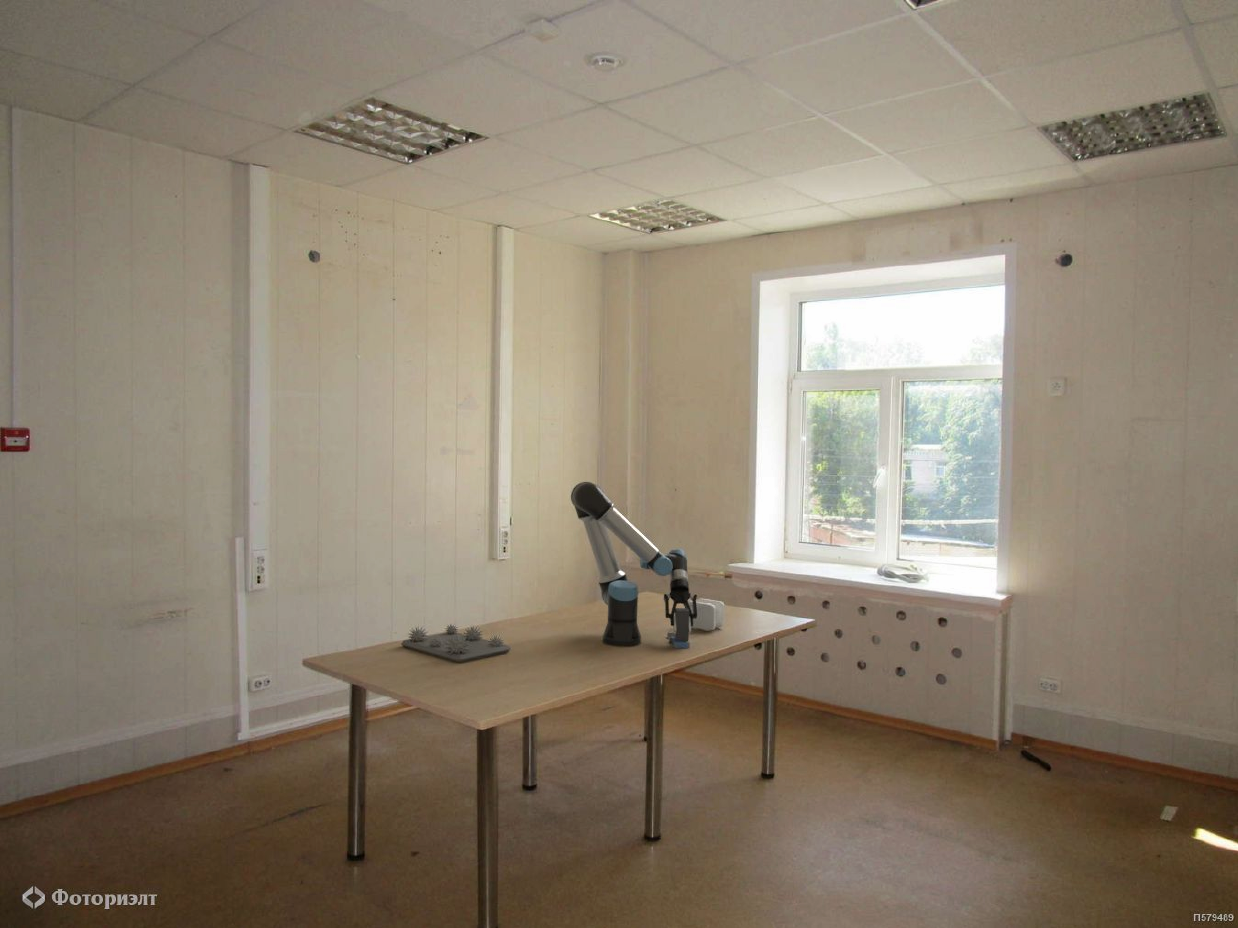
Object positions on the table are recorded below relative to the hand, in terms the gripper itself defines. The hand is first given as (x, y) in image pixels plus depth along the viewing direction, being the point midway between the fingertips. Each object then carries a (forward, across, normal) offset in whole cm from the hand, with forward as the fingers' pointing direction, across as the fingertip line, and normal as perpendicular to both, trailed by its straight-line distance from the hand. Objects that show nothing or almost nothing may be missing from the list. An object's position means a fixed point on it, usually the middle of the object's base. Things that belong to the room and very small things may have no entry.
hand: (682, 632), depth 321 cm
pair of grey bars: (-5, +1, -13) cm, 14 cm away
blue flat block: (+2, 0, -7) cm, 7 cm away
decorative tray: (+13, +86, +4) cm, 87 cm away
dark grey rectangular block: (0, 0, -5) cm, 5 cm away
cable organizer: (-21, -14, -30) cm, 40 cm away
